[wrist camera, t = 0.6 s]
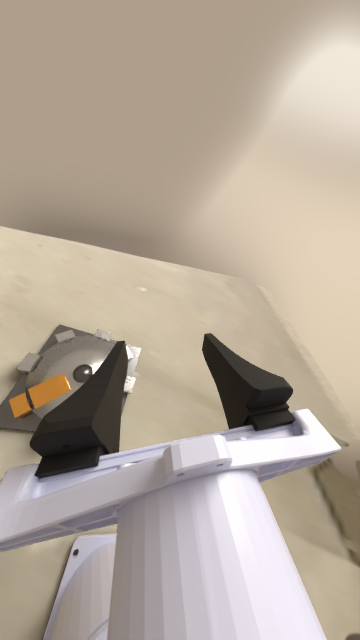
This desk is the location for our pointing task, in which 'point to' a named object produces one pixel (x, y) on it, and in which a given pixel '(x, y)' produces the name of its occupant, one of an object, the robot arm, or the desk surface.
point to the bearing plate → (4, 413)
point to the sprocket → (62, 371)
